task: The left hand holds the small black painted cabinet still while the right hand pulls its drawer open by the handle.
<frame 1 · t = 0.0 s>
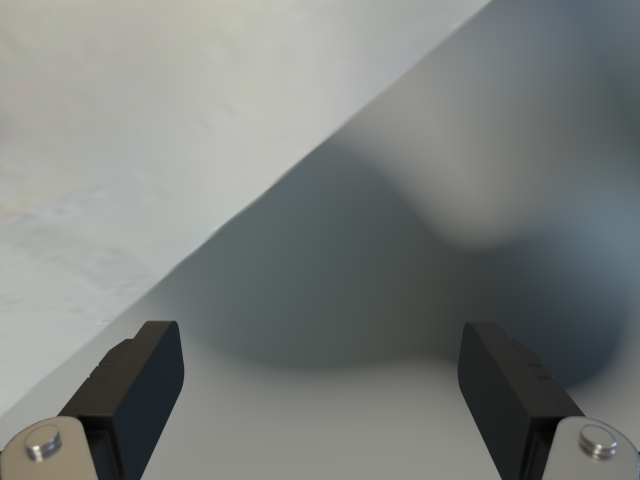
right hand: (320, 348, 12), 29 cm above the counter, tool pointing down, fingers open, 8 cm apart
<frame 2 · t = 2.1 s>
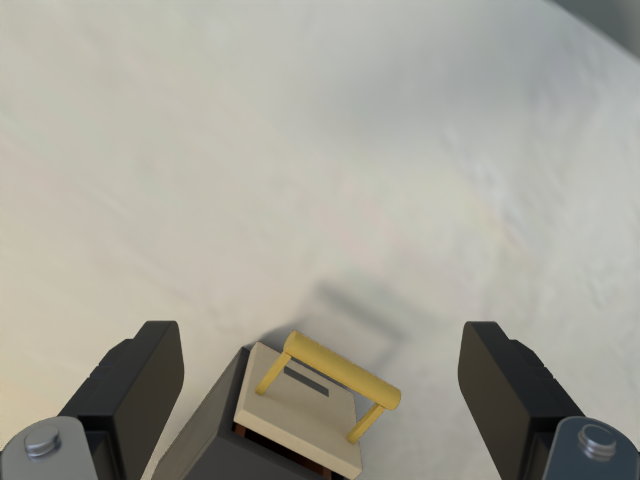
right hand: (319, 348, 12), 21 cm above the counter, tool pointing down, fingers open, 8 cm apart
drawer: (273, 439, 33), point 5 cm above the counter, slide at 0.7 cm
cabinet: (249, 434, 39), on the counter
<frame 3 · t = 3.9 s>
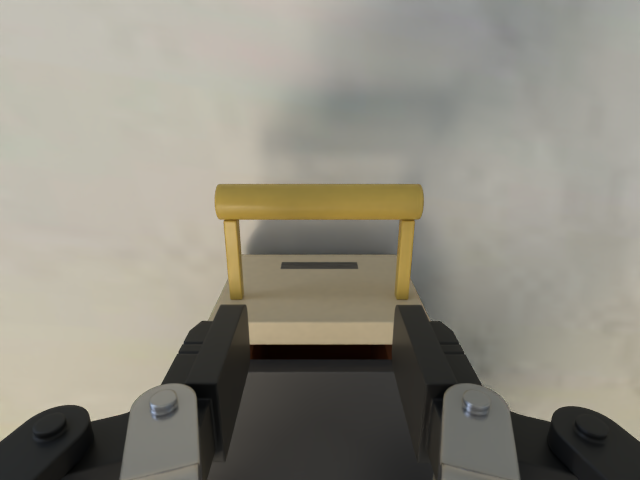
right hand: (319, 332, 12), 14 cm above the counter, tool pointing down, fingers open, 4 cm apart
drawer: (319, 356, 23), point 5 cm above the counter, slide at 0.7 cm
cabinet: (319, 377, 30), on the counter, touching left hand
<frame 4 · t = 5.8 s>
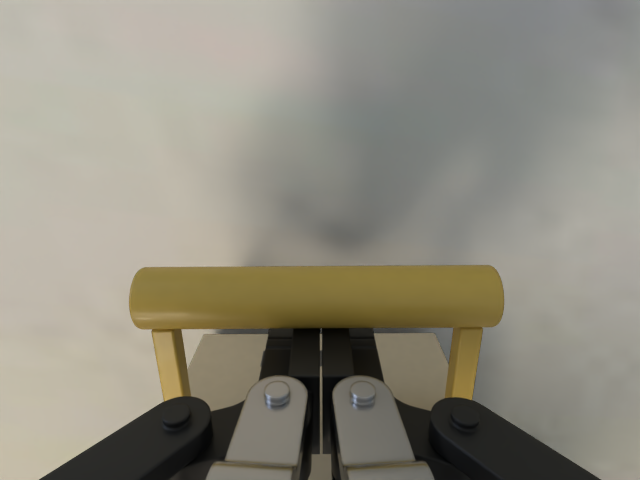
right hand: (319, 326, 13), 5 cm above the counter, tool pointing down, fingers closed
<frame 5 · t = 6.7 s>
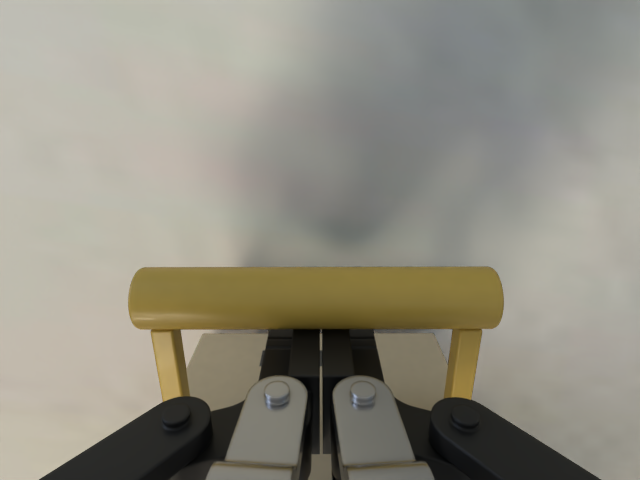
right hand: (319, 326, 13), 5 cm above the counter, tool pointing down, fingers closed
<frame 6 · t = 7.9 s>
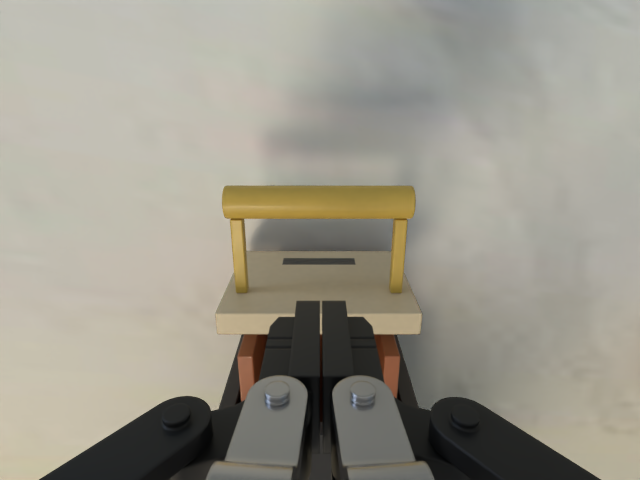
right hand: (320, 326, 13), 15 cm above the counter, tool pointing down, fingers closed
drawer: (318, 347, 25), point 5 cm above the counter, slide at 5.3 cm
cabinet: (319, 415, 33), on the counter, touching left hand
when the left hand's fingers open (5 cm above the counter, at t = 8.5 s): cabinet stays where it is, on the counter.
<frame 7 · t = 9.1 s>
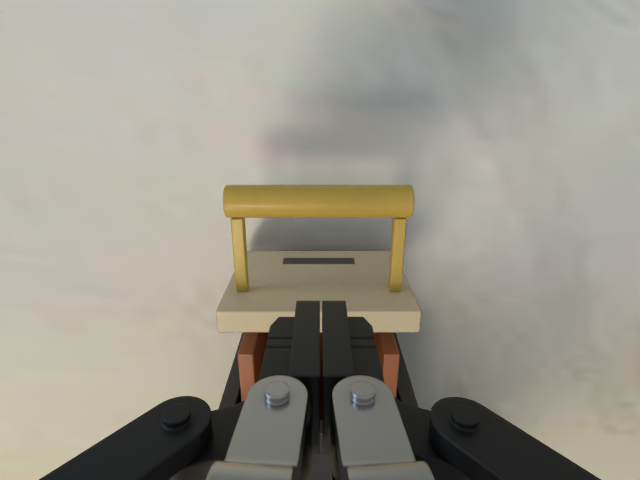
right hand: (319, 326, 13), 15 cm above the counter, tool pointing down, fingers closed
drawer: (318, 346, 25), point 5 cm above the counter, slide at 5.3 cm
cabinet: (319, 415, 33), on the counter
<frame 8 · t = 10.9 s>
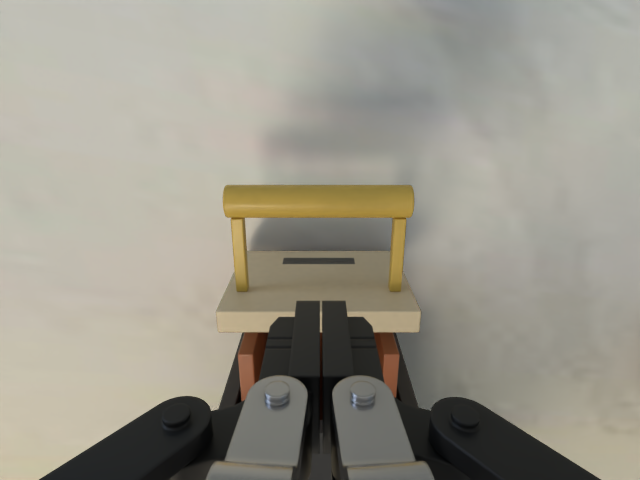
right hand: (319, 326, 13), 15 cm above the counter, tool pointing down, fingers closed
drawer: (318, 346, 25), point 5 cm above the counter, slide at 5.3 cm
cabinet: (319, 415, 33), on the counter
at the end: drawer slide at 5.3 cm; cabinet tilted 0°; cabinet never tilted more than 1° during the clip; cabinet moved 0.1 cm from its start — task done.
